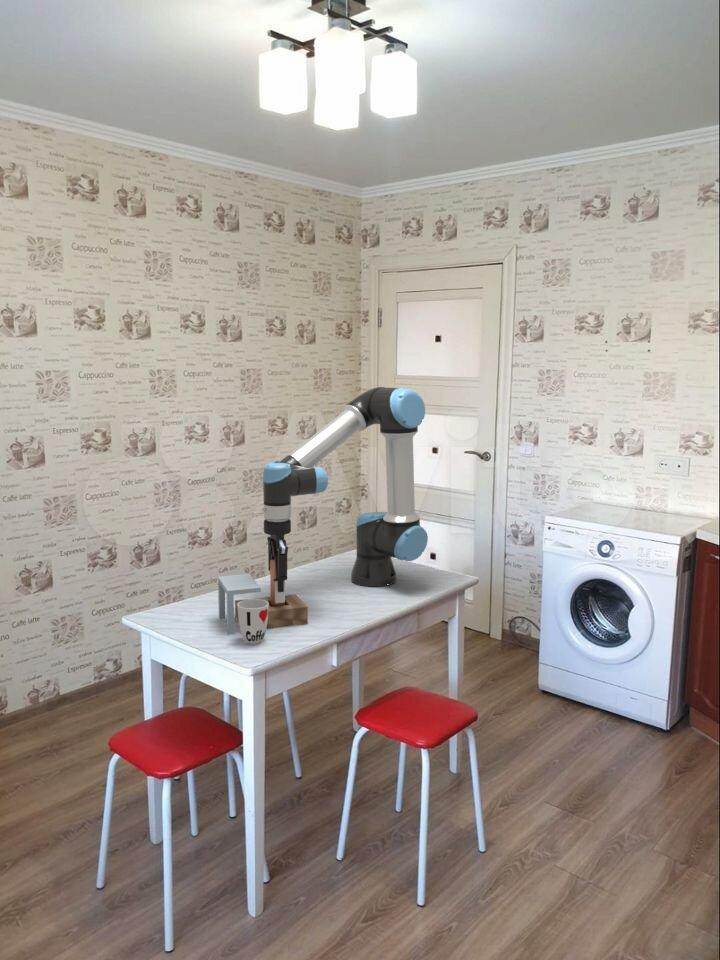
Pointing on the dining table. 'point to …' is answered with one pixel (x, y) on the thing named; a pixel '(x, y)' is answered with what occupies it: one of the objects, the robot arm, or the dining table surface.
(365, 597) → the dining table surface
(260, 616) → the cup
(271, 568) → the dowel
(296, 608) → the socket block
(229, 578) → the grey-blue stool
